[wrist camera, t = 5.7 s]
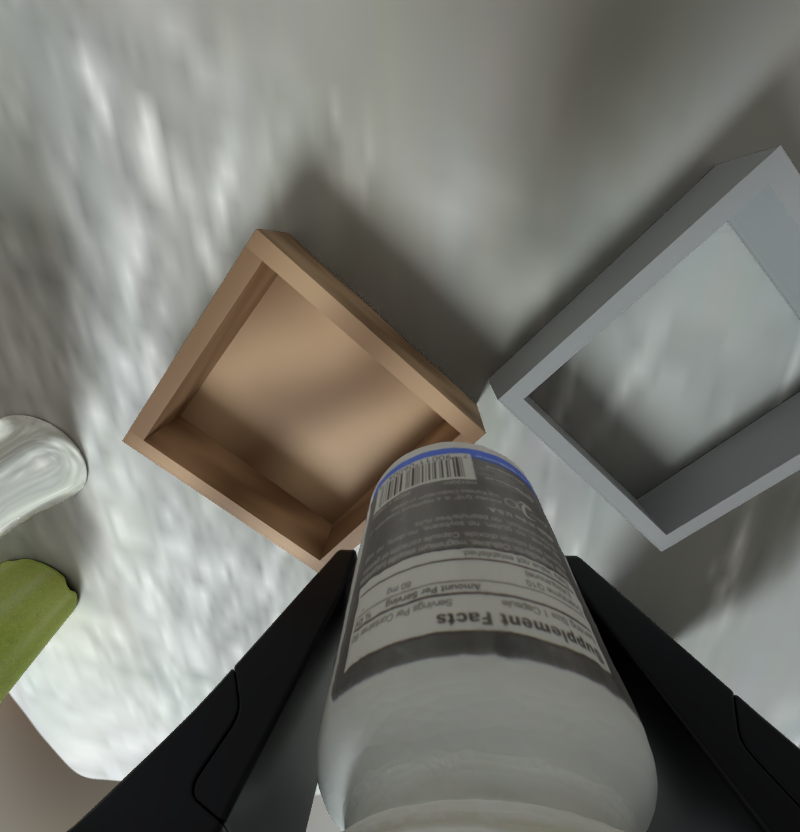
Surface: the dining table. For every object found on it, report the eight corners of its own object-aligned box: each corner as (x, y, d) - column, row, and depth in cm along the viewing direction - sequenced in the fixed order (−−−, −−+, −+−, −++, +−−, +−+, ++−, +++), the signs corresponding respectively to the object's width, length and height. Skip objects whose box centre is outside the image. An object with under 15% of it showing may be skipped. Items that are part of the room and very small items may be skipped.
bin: (860, 366, 18) (938, 387, 15) (632, 515, 22) (661, 551, 20) (717, 164, 15) (780, 145, 12) (488, 379, 20) (497, 400, 17)
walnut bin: (476, 404, 20) (485, 433, 17) (336, 533, 24) (322, 575, 21) (288, 232, 17) (256, 228, 14) (166, 413, 22) (122, 441, 18)
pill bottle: (499, 584, 12) (632, 1194, 4) (355, 548, 12) (220, 1125, 4) (564, 461, 10) (1036, 1186, 2) (393, 415, 10) (267, 1049, 2)
